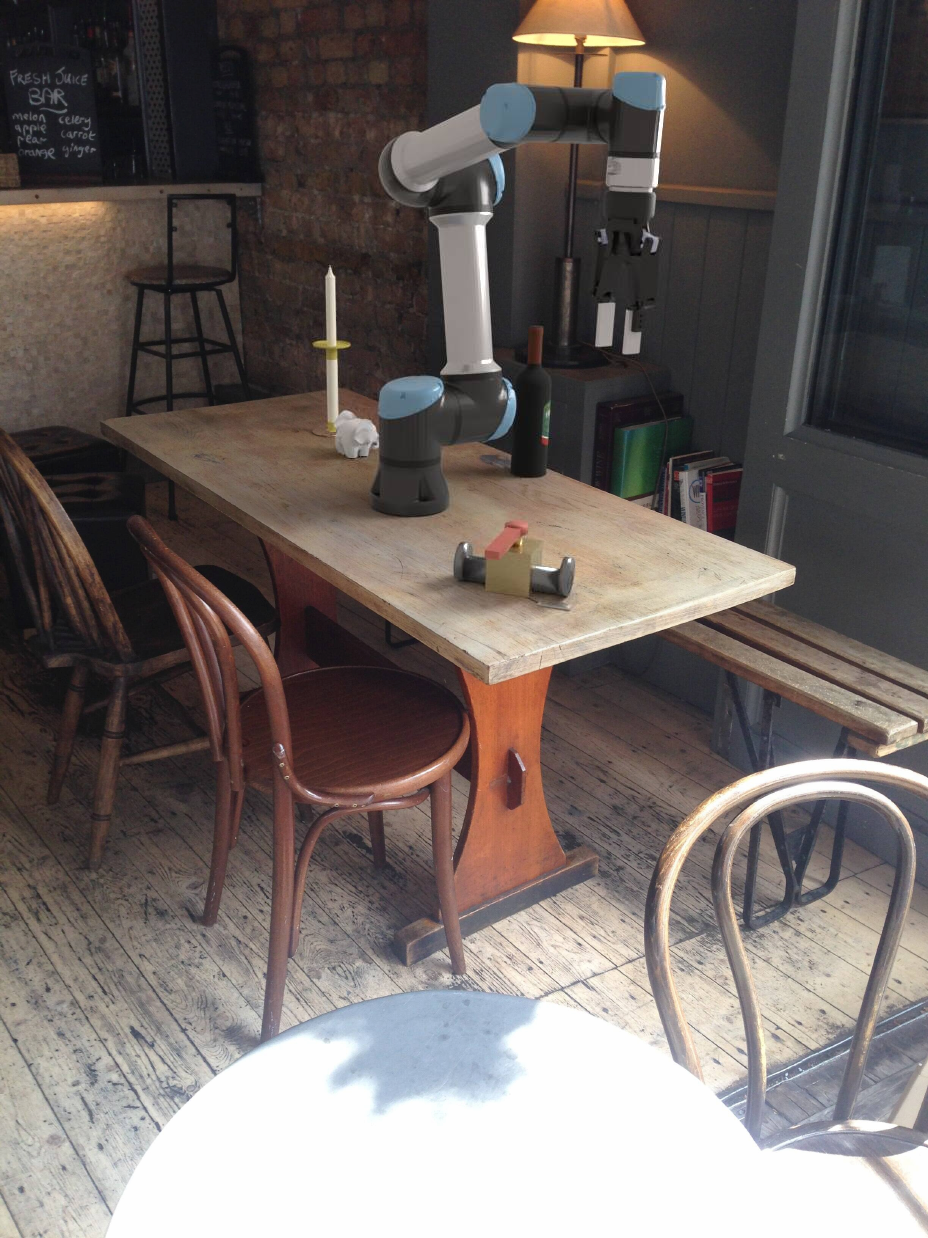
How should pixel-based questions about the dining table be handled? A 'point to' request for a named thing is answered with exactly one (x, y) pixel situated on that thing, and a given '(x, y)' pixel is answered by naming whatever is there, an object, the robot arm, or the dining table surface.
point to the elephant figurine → (354, 435)
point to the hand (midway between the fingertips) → (616, 349)
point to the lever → (506, 539)
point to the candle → (331, 351)
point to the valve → (517, 571)
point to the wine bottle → (531, 413)
